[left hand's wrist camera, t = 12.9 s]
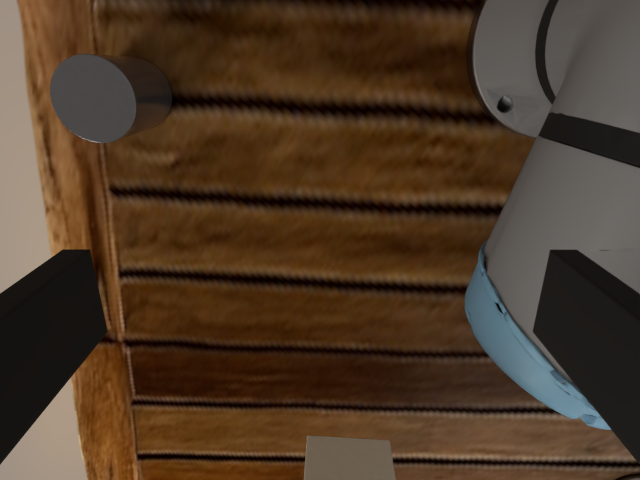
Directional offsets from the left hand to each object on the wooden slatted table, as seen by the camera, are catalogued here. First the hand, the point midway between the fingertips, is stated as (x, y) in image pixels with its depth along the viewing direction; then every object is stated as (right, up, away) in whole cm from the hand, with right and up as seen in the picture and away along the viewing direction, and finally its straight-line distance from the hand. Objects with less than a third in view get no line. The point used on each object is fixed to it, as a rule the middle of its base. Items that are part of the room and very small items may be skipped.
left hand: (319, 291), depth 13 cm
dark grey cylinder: (-16, +14, +25) cm, 33 cm away
